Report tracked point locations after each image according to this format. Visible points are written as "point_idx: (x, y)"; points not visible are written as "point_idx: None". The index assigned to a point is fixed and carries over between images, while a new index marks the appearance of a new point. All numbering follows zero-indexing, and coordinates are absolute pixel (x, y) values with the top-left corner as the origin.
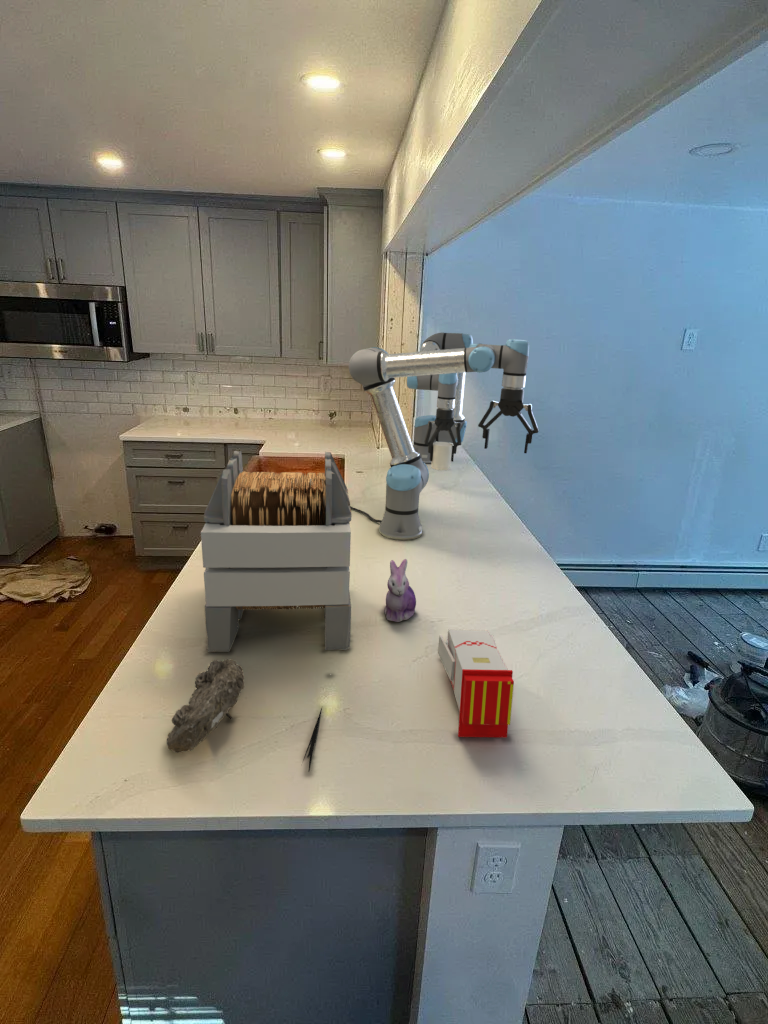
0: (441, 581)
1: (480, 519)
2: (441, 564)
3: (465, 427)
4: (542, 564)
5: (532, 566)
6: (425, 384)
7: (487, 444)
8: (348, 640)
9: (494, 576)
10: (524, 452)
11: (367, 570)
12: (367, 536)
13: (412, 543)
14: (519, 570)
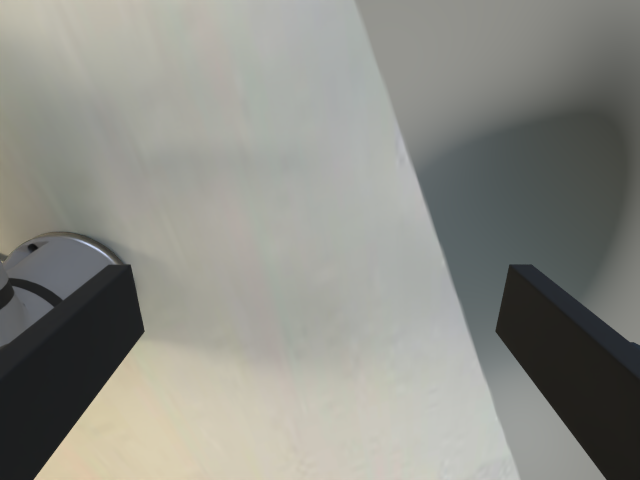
0: (266, 460)
1: (247, 62)
2: (243, 405)
3: None
4: (454, 329)
5: (431, 346)
6: None
7: (119, 317)
8: None
9: (355, 413)
10: (502, 336)
11: (128, 469)
12: None
13: None
14: (403, 374)
